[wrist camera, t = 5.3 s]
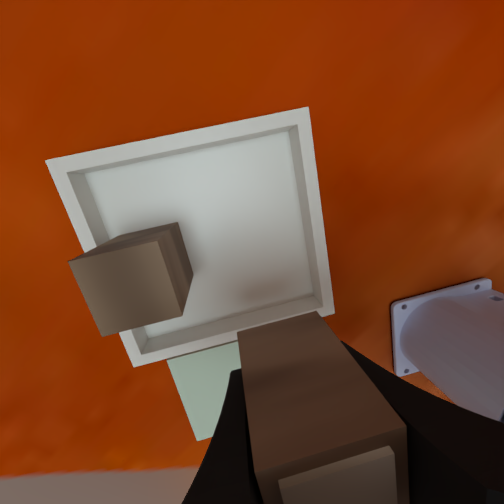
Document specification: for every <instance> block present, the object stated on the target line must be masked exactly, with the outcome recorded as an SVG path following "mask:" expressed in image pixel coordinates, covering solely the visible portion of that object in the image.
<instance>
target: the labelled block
mask: <svg viewBox="0 0 504 504" xmlns="http://www.w3.org/2000/svg"><path fill="white" fill-rule="evenodd" d="M237 338H238V346H239V354H240V362H241V370H242V377H243V385H244V393H245V401H246V409H247V417H248V424H249V432H250V440H251V448H252V456H253V464H254V471H255V475H256V479H257V482H258V485H259V489H260V492H261V495H262V499H263V502H264V504H409V479H408V453H407V428H406V425H405V423H404V422H403V421H402V419H401V418H400V417H399V416H398V414H397V413H396V412H395V411H394V409H393V408H392V407H391V405H390V404H389V403H388V402H387V400H386V399H385V398H384V396H383V395H382V394H381V393H380V391H379V390H378V389H377V388H376V386H375V385H374V384H373V382H372V381H371V380H370V379H369V377H368V376H367V375H366V373H365V372H364V371H363V370H362V368H361V367H360V366H359V365H358V363H357V362H356V361H355V359H354V358H353V357H352V356H351V354H350V353H349V352H348V350H347V349H346V348H345V347H344V345H343V344H342V343H341V341H340V340H339V339H338V338H337V336H336V335H335V334H334V333H333V331H332V330H331V329H330V327H329V326H328V325H327V324H326V322H325V321H324V320H323V318H322V317H321V316H320V315H319V313H318V312H317V311H313V312H310V313H306V314H302V315H298V316H295V317H291V318H287V319H283V320H280V321H276V322H272V323H268V324H265V325H261V326H257V327H253V328H249V329H246V330H242V331H238V332H237Z"/></svg>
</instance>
